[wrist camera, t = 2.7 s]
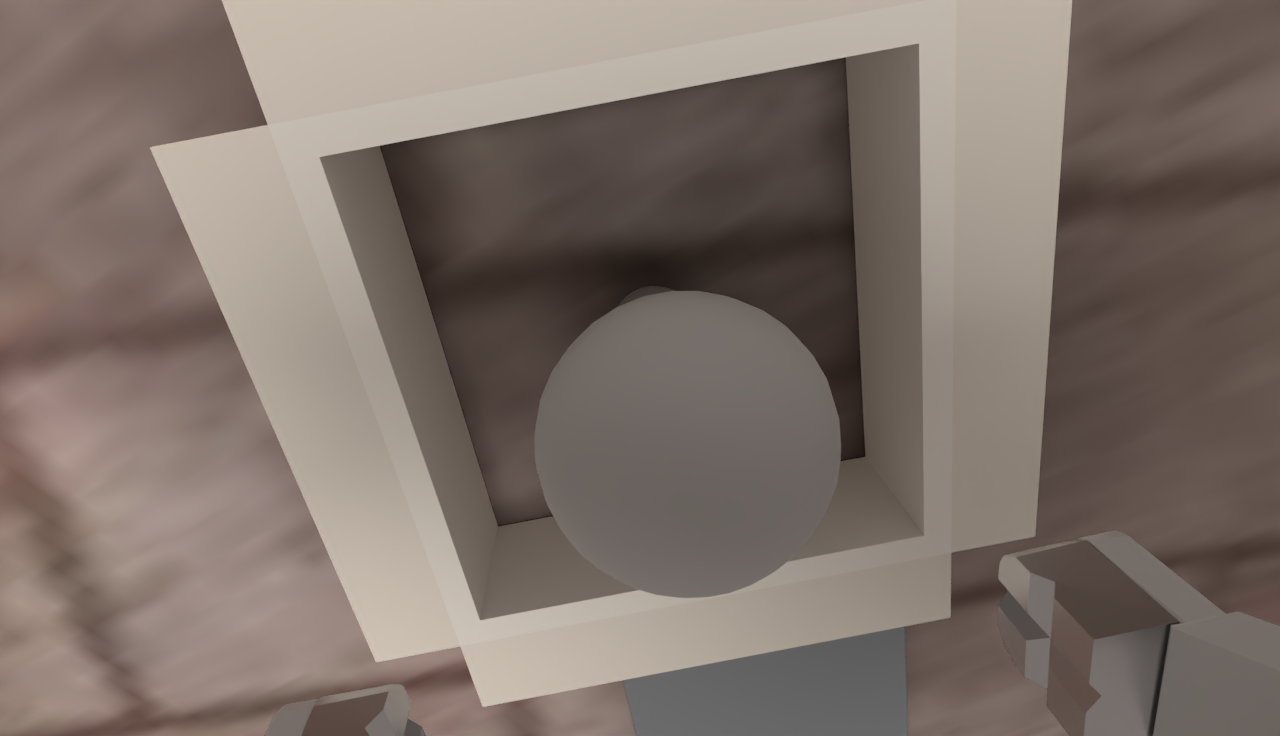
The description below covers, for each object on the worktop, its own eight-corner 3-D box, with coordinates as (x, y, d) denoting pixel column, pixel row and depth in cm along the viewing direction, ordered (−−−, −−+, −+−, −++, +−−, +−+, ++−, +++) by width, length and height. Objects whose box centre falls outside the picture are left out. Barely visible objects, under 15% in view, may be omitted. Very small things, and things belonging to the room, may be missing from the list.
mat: (897, 595, 26) (904, 606, 26) (903, 784, 31) (909, 797, 30) (617, 649, 26) (617, 661, 26) (662, 831, 31) (663, 844, 30)
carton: (965, -114, 17) (1084, -174, 13) (957, 516, 25) (1030, 602, 21) (208, 29, 17) (91, 14, 13) (432, 616, 25) (402, 722, 21)
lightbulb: (785, 328, 22) (959, 544, 12) (635, 439, 23) (675, 723, 13) (668, 174, 20) (758, 274, 10) (510, 305, 21) (440, 517, 11)
